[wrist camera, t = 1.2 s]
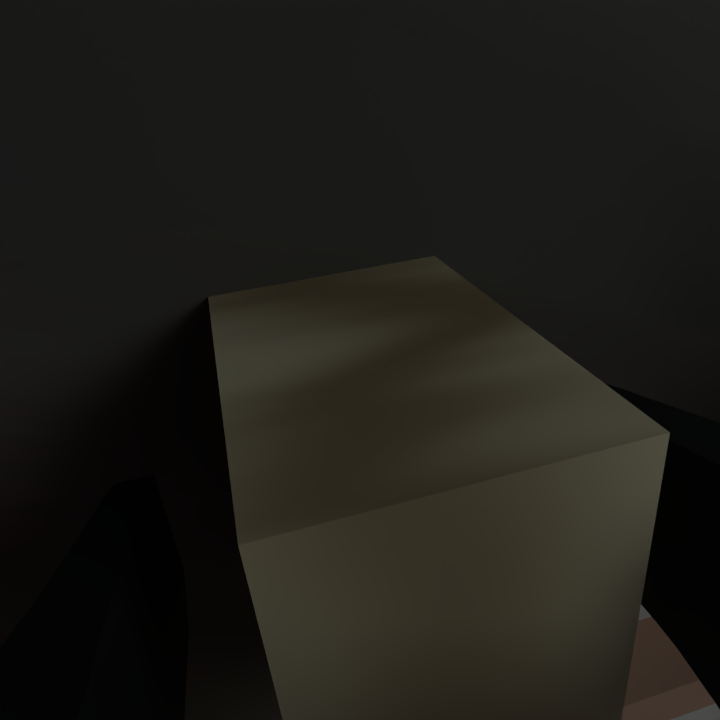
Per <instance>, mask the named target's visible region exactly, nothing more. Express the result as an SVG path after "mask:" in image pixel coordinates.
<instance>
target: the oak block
mask: <svg viewBox="0 0 720 720" xmlns="http://www.w3.org/2000/svg"><path fill="white" fill-rule="evenodd" d="M208 301H209V310H210V318H211V326H212V334H213V343H214V351H215V359H216V367H217V375H218V384H219V392H220V400H221V408H222V417H223V425H224V433H225V441H226V450H227V458H228V466H229V474H230V483H231V491H232V499H233V507H234V515H235V524H236V532H237V540H238V547H239V551H240V555H241V559H242V563H243V566H244V570H245V574H246V578H247V582H248V586H249V590H250V594H251V598H252V602H253V605H254V609H255V613H256V617H257V621H258V625H259V629H260V633H261V637H262V641H263V644H264V648H265V652H266V656H267V660H268V664H269V668H270V672H271V676H272V680H273V683H274V687H275V691H276V695H277V699H278V703H279V707H280V711H281V715H282V719H283V720H621V719H622V713H623V707H624V702H625V696H626V690H627V684H628V678H629V672H630V666H631V660H632V654H633V648H634V643H635V637H636V631H637V625H638V619H639V613H640V607H641V601H642V595H643V589H644V583H645V578H646V572H647V566H648V560H649V554H650V548H651V542H652V536H653V530H654V524H655V519H656V513H657V507H658V501H659V495H660V489H661V483H662V477H663V471H664V465H665V460H666V454H667V448H668V442H669V436H670V432H669V431H667V430H666V429H665V428H663V427H662V426H661V425H659V424H658V423H657V422H655V421H654V420H653V419H651V418H650V417H649V416H647V415H646V414H645V413H643V412H642V411H641V410H639V409H638V408H637V407H635V406H634V405H633V404H631V403H630V402H628V401H627V400H626V399H624V398H623V397H622V396H620V395H619V394H618V393H616V392H615V391H614V390H612V389H611V388H610V387H608V386H607V385H606V384H604V383H603V382H602V381H600V380H599V379H598V378H596V377H595V376H594V375H592V374H591V373H590V372H588V371H587V370H586V369H584V368H583V367H582V366H580V365H579V364H578V363H576V362H575V361H574V360H572V359H571V358H570V357H568V356H567V355H566V354H564V353H563V352H562V351H560V350H559V349H558V348H556V347H555V346H554V345H552V344H551V343H550V342H548V341H547V340H546V339H544V338H543V337H542V336H540V335H539V334H538V333H536V332H535V331H534V330H532V329H531V328H530V327H528V326H527V325H526V324H524V323H523V322H522V321H520V320H519V319H518V318H516V317H515V316H514V315H512V314H511V313H510V312H508V311H507V310H506V309H504V308H503V307H502V306H500V305H499V304H498V303H496V302H495V301H494V300H492V299H491V298H490V297H488V296H487V295H486V294H484V293H483V292H482V291H480V290H479V289H478V288H476V287H475V286H474V285H472V284H471V283H470V282H468V281H467V280H466V279H464V278H463V277H462V276H460V275H459V274H458V273H456V272H455V271H454V270H452V269H451V268H450V267H448V266H447V265H446V264H444V263H443V262H442V261H440V260H439V259H438V258H436V257H435V256H431V257H426V258H420V259H415V260H409V261H404V262H398V263H393V264H387V265H382V266H376V267H371V268H365V269H360V270H354V271H349V272H343V273H338V274H332V275H327V276H321V277H316V278H310V279H304V280H299V281H293V282H288V283H282V284H277V285H271V286H266V287H260V288H255V289H249V290H244V291H238V292H233V293H227V294H222V295H216V296H211V297H208Z"/></svg>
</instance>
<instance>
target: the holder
mask: <svg viewBox="0 0 720 720" xmlns="http://www.w3.org/2000/svg"><path fill="white" fill-rule="evenodd" d="M621 720H720V709H719V708H718V706H717V705H716V703H715V702H714V700H713V699H712V697H711V696H710V695H709V693H708V692H707V690H706V689H705V687H704V686H703V685H702V683H701V682H700V680H699V679H698V677H697V676H696V674H695V673H694V672H693V670H692V669H691V667H690V666H689V664H688V663H687V662H686V660H685V659H684V657H683V656H682V654H681V653H680V652H679V650H678V649H677V648H676V646H675V645H674V644H673V643H672V641H671V640H670V639H669V637H668V636H667V635H666V634H665V632H664V631H663V630H662V629H661V627H660V626H659V625H658V624H657V622H656V621H655V620H654V619H653V618H652V617H651V615H650V614H649V613H648V612H647V611H646V609H645V608H644V607H643V606H642V605H641V607H640V613H639V619H638V625H637V631H636V637H635V643H634V648H633V654H632V660H631V666H630V672H629V678H628V684H627V690H626V696H625V702H624V707H623V713H622V719H621Z"/></svg>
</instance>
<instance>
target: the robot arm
mask: <svg viewBox="0 0 720 720" xmlns="http://www.w3.org/2000/svg"><path fill="white" fill-rule="evenodd" d="M604 384H605V383H604ZM606 385H607V386H608V387H610V388H611V389H612V390H614V391H615V392H616V393H618V394H619V395H620V396H622V397H623V398H624V399H626V400H627V401H628V402H630V403H631V404H633V405H634V406H635V407H637V408H638V409H639V410H641V411H642V412H643V413H645V414H646V415H647V416H649V417H650V418H651V419H653V420H654V421H655V422H657V423H658V424H659V425H661V426H662V427H663V428H665V429H666V430H667V431H669V432H670V436H669V442H668V448H667V454H666V460H665V465H664V471H663V477H662V483H661V489H660V495H659V501H658V507H657V513H656V519H655V524H654V530H653V536H652V542H651V548H650V554H649V560H648V566H647V572H646V578H645V583H644V589H643V595H642V601H641V605H642V606H643V607H644V608H645V609H646V611H647V612H648V613H649V614H650V615H651V617H652V618H653V619H654V620H655V621H656V622H657V624H658V625H659V626H660V627H661V629H662V630H663V631H664V632H665V634H666V635H667V636H668V637H669V639H670V640H671V641H672V643H673V644H674V645H675V646H676V648H677V649H678V650H679V652H680V653H681V654H682V656H683V657H684V659H685V660H686V662H687V663H688V664H689V666H690V667H691V669H692V670H693V672H694V673H695V674H696V676H697V677H698V679H699V680H700V682H701V683H702V685H703V686H704V687H705V689H706V690H707V692H708V693H709V695H710V696H711V697H712V699H713V700H714V702H715V703H716V705H717V706H718V708H719V709H720V423H718V422H715V421H712V420H709V419H706V418H703V417H700V416H697V415H695V414H692V413H689V412H686V411H683V410H680V409H677V408H674V407H672V406H669V405H666V404H663V403H660V402H657V401H654V400H652V399H649V398H646V397H643V396H640V395H637V394H635V393H632V392H629V391H626V390H623V389H620V388H617V387H614V386H611V385H608V384H606ZM187 649H188V619H187V603H186V590H185V577H184V569H183V566H182V563H181V560H180V556H179V553H178V550H177V547H176V544H175V541H174V538H173V535H172V531H171V528H170V525H169V522H168V519H167V516H166V513H165V510H164V506H163V503H162V500H161V497H160V494H159V491H158V488H157V484H156V481H155V478H154V475H151V476H146V477H142V478H138V479H133V480H129V481H125V482H120V483H116V484H113V485H112V486H111V488H110V489H109V491H108V492H107V493H106V495H105V497H104V498H103V500H102V501H101V503H100V504H99V506H98V507H97V509H96V511H95V512H94V514H93V515H92V517H91V519H90V520H89V522H88V523H87V525H86V526H85V528H84V530H83V531H82V533H81V534H80V536H79V537H78V539H77V540H76V542H75V544H74V545H73V547H72V548H71V550H70V551H69V553H68V554H67V556H66V557H65V559H64V560H63V562H62V563H61V565H60V566H59V567H58V569H57V570H56V572H55V573H54V575H53V576H52V578H51V579H50V581H49V582H48V584H47V585H46V587H45V588H44V590H43V591H42V592H41V594H40V595H39V597H38V598H37V600H36V601H35V602H34V604H33V605H32V606H31V608H30V609H29V610H28V612H27V613H26V614H25V616H24V617H23V618H22V620H21V621H20V622H19V624H18V625H17V626H16V628H15V629H14V630H13V632H12V633H11V634H10V636H9V637H8V638H7V640H6V641H5V642H4V644H3V645H2V646H1V648H0V720H184V710H185V691H186V670H187Z"/></svg>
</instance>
